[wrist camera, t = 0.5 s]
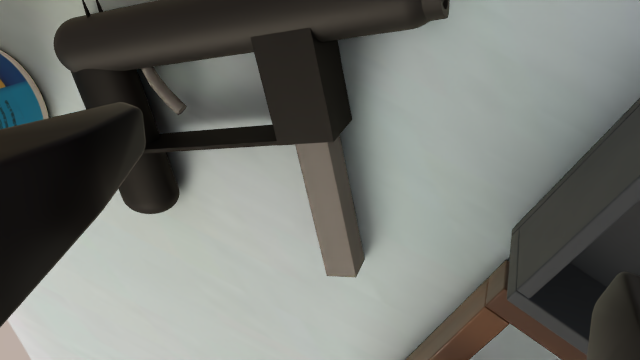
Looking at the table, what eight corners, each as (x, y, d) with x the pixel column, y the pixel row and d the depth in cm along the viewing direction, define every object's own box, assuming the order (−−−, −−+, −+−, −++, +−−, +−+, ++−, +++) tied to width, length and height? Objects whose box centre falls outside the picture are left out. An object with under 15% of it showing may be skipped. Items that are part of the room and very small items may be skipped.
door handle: (471, 293, 24) (431, -92, 17) (135, 274, 32) (21, 5, 25) (477, 252, 27) (445, -93, 20) (167, 244, 34) (71, -6, 28)
